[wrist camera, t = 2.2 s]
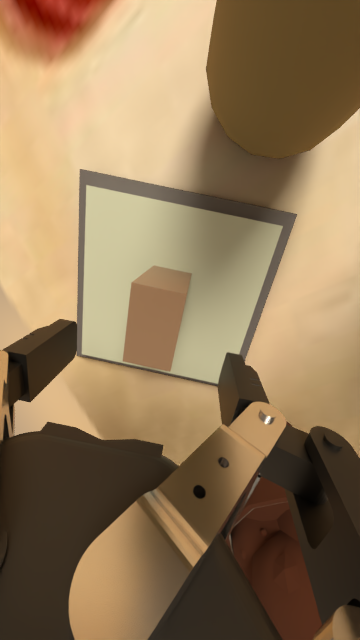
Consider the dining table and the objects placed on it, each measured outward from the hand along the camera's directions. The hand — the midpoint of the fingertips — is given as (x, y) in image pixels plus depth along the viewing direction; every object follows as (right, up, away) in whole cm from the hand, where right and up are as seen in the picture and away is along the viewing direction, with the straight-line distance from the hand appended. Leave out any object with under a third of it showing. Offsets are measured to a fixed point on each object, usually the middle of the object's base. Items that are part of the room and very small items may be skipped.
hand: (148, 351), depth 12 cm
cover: (+1, +4, +7) cm, 8 cm away
